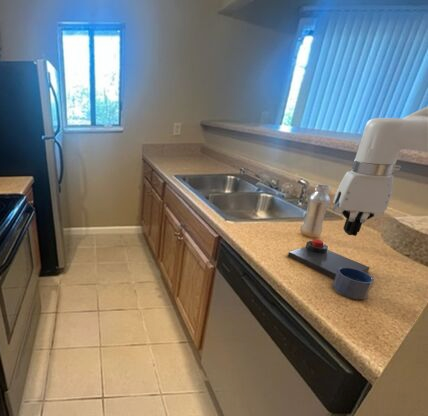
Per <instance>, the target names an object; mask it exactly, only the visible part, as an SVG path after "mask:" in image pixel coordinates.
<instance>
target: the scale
mask: <svg viewBox="0 0 428 416" xmlns="http://www.w3.org/2000/svg"><path fill="white" fill-rule="evenodd" d="M312 242H313V240H308V241H306V245H305V246H303V247H300V248H298V249H297V248H296V249H293V250H290V251H288V254H287V257H288V258H290V259H291V260H294V261H296V262H298V263H300V264H302V265H303V266H306V267H307V268H309V269H312V270H313V271H316V272H318V273H319V274H322V275H324V276H327V277H328V278H330V279H332V280H334V279H335V276H336V274H337V271H338V268H341V267H349V268H354V269H358V270H361V271H363V272H365V273H367V274H369V270H370V266H368V265H366V264H363V263H361V262H358V261H357V260H353V259H351V258H348V257H346V256H344V255H341V254H339V253H337V252H334V251H332V250H329V249H328V248H329V246H328V245H327V244H325V243H323V246H322V247H315V246H313V245H312Z"/></svg>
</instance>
